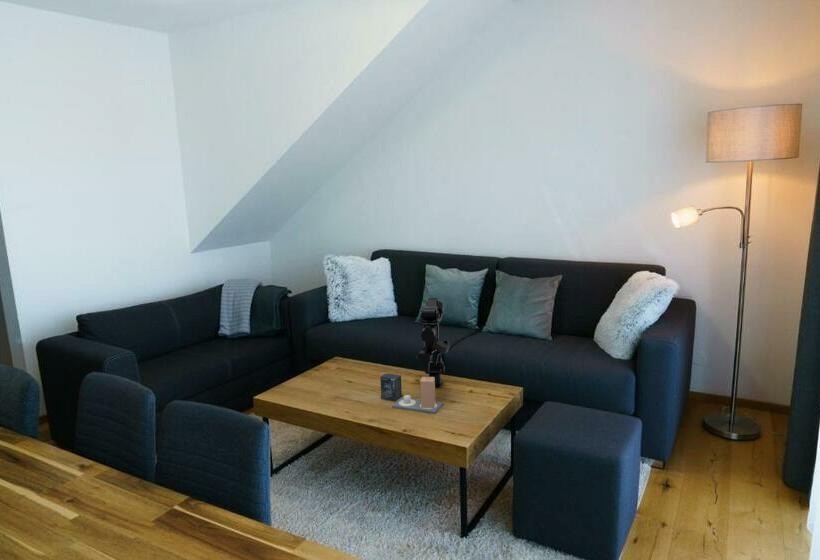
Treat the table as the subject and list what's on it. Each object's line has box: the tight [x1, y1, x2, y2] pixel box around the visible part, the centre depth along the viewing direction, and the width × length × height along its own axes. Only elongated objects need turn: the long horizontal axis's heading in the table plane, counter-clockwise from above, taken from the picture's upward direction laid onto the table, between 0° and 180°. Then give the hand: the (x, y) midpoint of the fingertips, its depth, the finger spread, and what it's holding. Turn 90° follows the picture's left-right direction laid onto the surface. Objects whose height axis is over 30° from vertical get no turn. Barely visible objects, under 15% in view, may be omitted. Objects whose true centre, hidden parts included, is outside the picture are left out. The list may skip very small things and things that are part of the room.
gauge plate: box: [391, 394, 444, 415], centre depth 252 cm, size 10×20×4 cm, turn 67°
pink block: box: [419, 376, 436, 408], centre depth 249 cm, size 6×6×12 cm
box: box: [379, 372, 403, 402], centre depth 262 cm, size 8×6×11 cm
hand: (431, 369), depth 260 cm, fingers open, 9 cm apart
